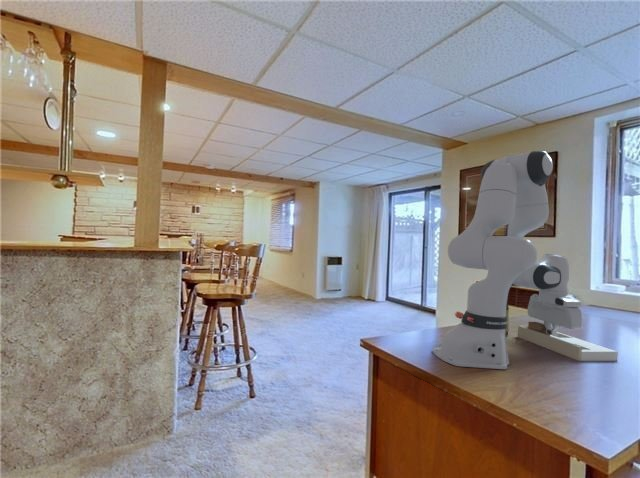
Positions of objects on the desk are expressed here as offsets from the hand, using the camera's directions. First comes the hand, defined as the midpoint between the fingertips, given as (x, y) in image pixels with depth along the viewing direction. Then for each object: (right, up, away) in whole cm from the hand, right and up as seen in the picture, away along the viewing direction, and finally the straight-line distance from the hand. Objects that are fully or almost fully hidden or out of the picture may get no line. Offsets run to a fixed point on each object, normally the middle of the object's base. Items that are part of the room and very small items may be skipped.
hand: (551, 334), depth 121 cm
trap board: (+3, -4, -2) cm, 5 cm away
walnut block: (-2, -1, +4) cm, 5 cm away
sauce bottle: (-13, -4, +12) cm, 18 cm away
